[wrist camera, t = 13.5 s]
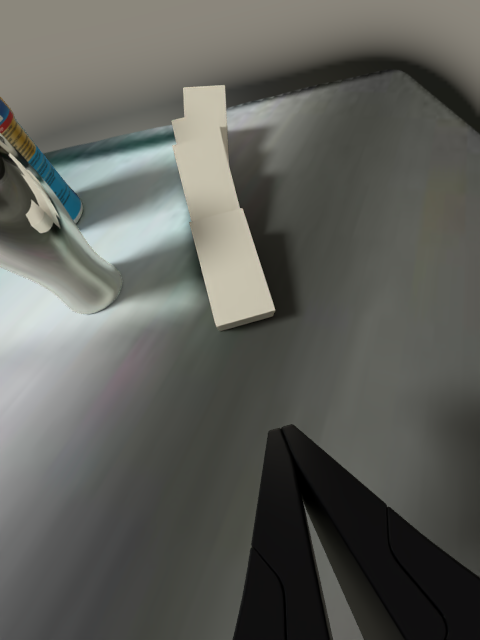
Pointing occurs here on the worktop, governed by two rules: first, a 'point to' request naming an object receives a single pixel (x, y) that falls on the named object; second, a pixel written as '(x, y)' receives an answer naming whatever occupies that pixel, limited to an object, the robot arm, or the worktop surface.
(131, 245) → the worktop surface
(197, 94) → the domino
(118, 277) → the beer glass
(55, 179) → the beverage bottle
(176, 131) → the domino
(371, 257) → the worktop surface
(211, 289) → the domino
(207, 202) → the domino
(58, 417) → the worktop surface
